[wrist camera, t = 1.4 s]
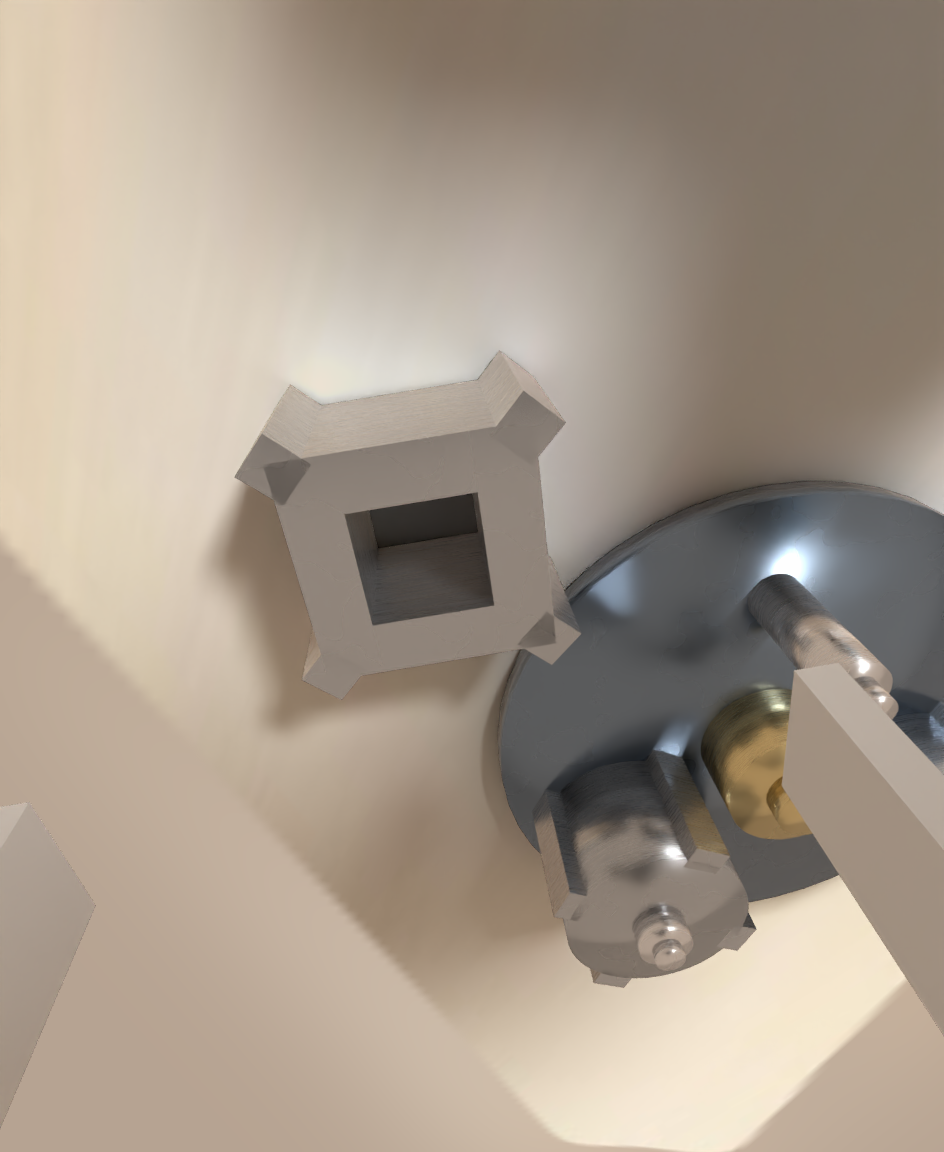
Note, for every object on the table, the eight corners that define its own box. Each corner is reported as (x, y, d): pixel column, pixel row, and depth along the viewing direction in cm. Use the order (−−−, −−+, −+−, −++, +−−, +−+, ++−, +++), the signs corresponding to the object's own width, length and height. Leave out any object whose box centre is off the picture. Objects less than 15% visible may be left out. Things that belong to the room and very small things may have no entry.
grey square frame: (258, 389, 22) (222, 440, 17) (531, 345, 22) (562, 384, 17) (325, 618, 26) (309, 705, 21) (553, 580, 26) (583, 659, 21)
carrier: (654, 391, 23) (760, 476, 16) (1120, 584, 28) (1342, 706, 22) (423, 838, 32) (428, 1010, 25) (807, 917, 38) (895, 1075, 31)
